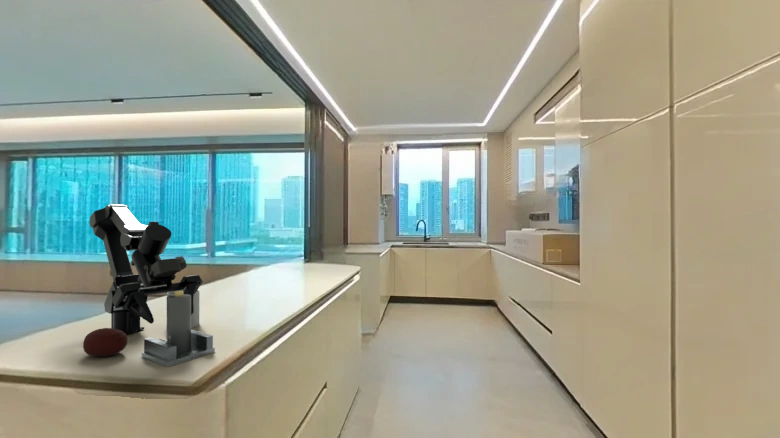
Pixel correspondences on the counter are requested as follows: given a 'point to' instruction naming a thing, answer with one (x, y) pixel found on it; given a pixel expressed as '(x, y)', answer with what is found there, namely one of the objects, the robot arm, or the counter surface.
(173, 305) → the plug
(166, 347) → the housing
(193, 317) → the cup
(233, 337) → the counter surface
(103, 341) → the potato
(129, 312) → the robot arm
